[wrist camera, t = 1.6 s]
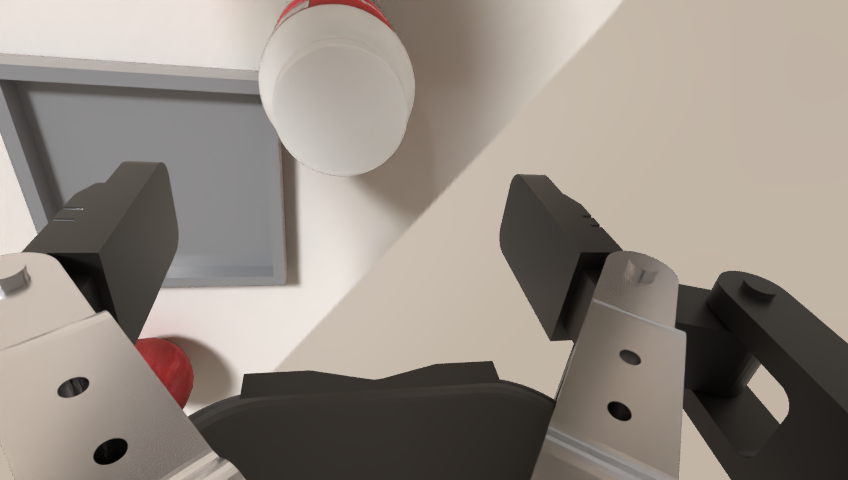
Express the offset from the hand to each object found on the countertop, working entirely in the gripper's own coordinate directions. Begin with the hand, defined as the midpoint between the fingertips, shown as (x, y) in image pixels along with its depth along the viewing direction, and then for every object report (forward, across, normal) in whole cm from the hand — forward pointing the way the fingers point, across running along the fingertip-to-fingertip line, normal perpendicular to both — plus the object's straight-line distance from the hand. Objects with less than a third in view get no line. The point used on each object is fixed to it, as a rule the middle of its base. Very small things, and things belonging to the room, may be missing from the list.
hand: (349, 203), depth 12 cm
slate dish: (+17, +10, +8) cm, 21 cm away
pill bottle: (+18, 0, 0) cm, 18 cm away
